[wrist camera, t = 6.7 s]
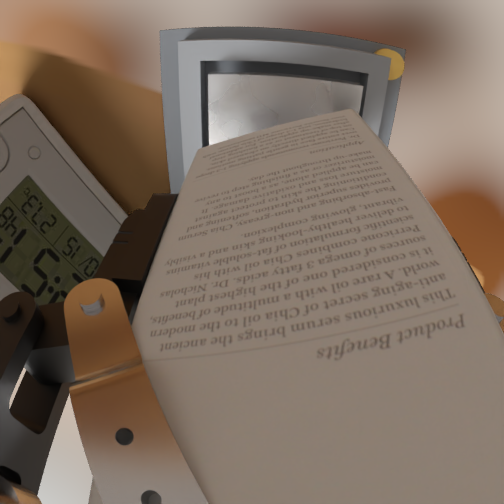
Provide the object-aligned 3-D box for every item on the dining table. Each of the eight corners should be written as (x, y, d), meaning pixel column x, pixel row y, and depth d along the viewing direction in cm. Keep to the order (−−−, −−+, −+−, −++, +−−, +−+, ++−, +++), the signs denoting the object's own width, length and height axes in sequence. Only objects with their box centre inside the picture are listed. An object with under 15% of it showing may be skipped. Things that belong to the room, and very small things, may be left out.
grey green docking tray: (190, 307, 26) (183, 340, 24) (164, 30, 13) (142, 33, 10) (334, 312, 26) (340, 345, 24) (399, 47, 13) (427, 56, 10)
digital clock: (177, 263, 23) (144, 399, 15) (89, 285, 25) (45, 394, 17) (64, 58, 13) (-81, 131, 5) (-18, 127, 16) (-120, 215, 7)
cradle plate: (213, 196, 17) (211, 204, 16) (210, 71, 13) (207, 74, 12) (337, 203, 17) (340, 211, 16) (358, 82, 13) (363, 86, 12)
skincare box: (234, 233, 14) (200, 547, 5) (196, 146, 12) (67, 534, 2) (373, 201, 13) (467, 520, 4) (357, 104, 10) (566, 501, 1)
